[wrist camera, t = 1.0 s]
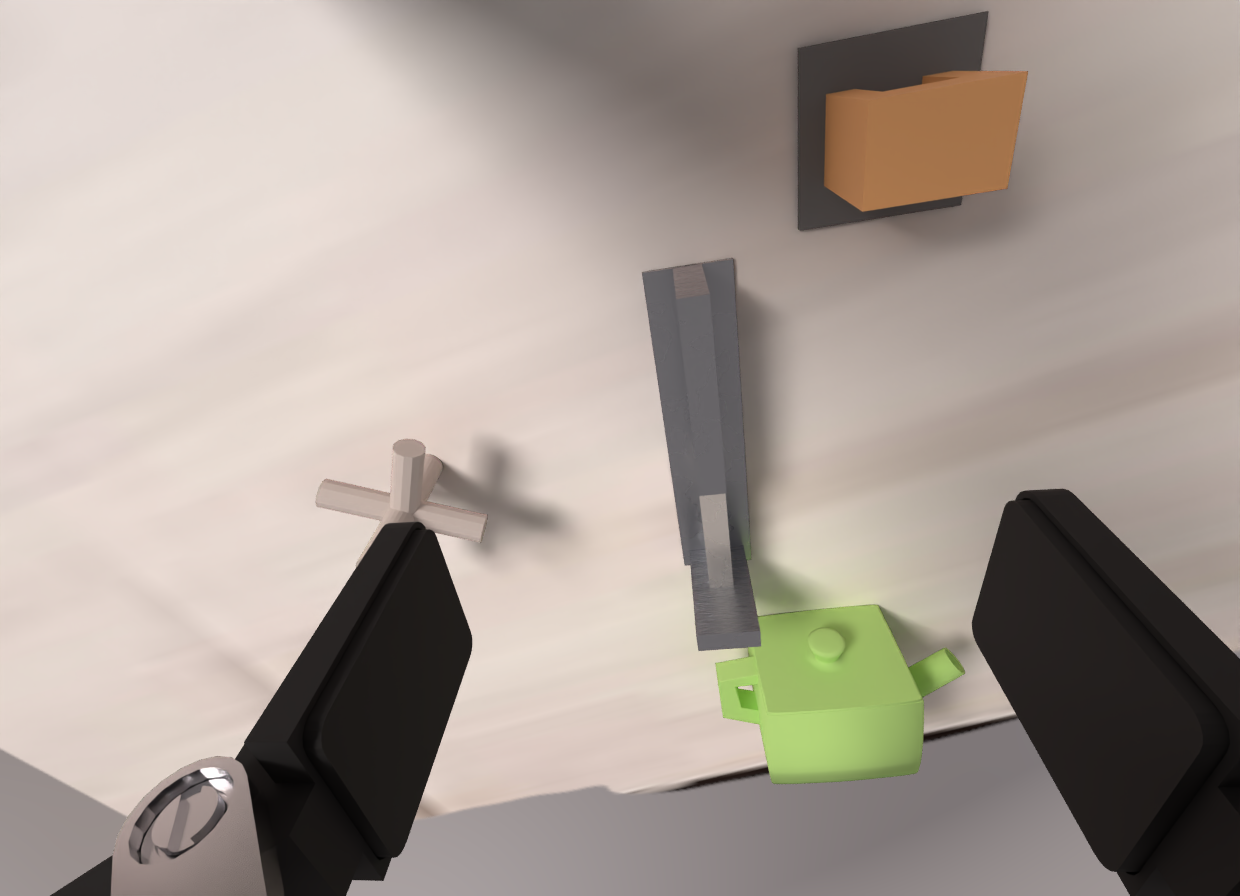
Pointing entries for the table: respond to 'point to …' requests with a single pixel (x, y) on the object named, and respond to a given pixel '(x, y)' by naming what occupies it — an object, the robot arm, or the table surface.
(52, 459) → the table surface
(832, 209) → the pad
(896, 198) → the clip
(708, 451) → the rail
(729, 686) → the green square teapot
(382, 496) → the pipe connector
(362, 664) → the robot arm
